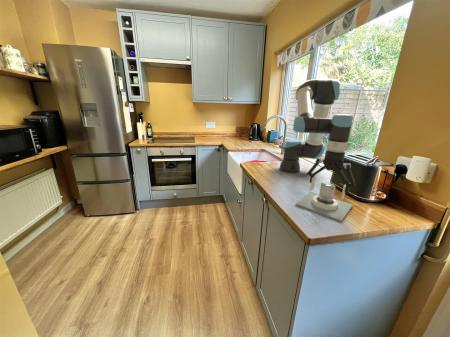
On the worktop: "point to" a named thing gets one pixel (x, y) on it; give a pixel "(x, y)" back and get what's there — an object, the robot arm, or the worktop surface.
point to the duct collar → (326, 193)
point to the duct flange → (325, 207)
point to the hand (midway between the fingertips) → (326, 193)
